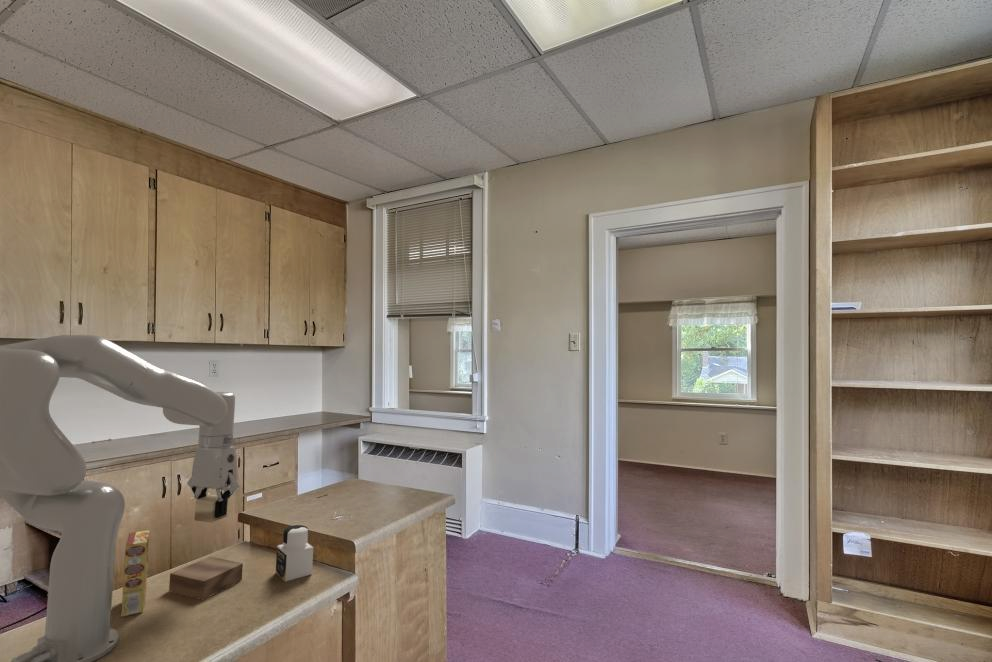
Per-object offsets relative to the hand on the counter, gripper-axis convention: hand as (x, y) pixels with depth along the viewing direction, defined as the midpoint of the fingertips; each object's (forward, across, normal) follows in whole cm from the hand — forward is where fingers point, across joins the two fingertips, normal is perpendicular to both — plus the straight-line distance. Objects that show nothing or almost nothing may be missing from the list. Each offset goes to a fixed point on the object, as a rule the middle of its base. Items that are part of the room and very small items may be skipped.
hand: (211, 514), depth 121 cm
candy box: (+18, +7, +13) cm, 23 cm away
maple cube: (+1, 0, 0) cm, 1 cm away
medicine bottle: (+18, -16, -12) cm, 27 cm away
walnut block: (+18, 0, 0) cm, 18 cm away
